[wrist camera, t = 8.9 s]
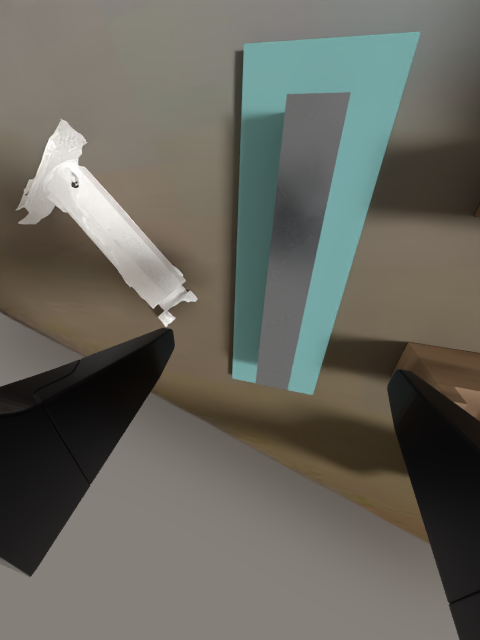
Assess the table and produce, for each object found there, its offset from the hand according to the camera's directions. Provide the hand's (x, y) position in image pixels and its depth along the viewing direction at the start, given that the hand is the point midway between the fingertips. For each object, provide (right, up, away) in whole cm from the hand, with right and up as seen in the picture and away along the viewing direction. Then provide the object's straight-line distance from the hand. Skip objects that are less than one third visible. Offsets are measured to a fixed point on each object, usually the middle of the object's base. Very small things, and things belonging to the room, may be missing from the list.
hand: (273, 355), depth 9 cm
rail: (+3, +5, +9) cm, 11 cm away
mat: (+3, +6, +10) cm, 12 cm away
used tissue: (-14, +9, +13) cm, 21 cm away
